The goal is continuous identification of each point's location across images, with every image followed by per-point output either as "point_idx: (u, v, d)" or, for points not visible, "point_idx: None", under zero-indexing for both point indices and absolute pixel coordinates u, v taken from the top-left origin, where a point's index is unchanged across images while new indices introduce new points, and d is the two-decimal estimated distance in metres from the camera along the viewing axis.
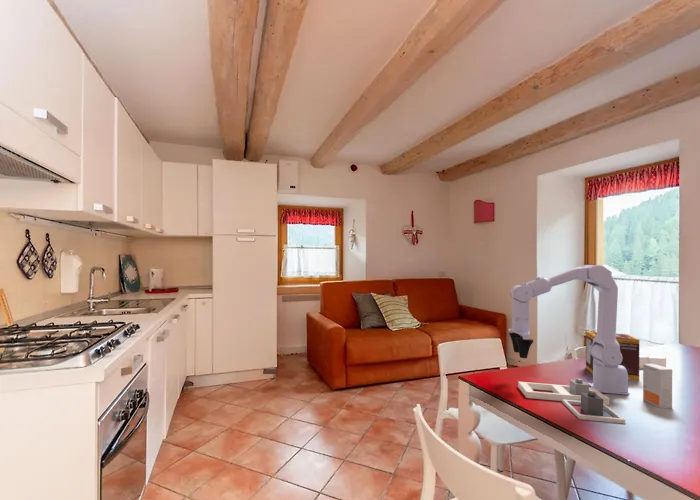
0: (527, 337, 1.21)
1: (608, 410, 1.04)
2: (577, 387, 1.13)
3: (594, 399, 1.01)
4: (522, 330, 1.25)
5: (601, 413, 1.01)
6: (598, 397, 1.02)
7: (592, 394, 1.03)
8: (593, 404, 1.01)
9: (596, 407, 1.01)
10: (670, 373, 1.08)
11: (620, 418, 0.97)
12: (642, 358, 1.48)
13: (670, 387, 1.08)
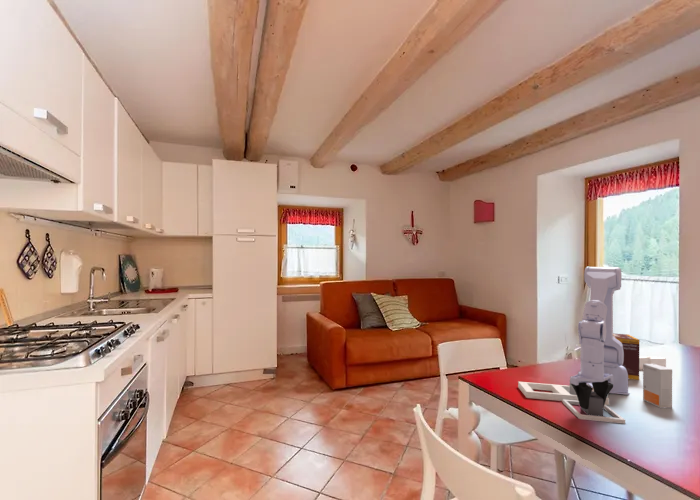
0: (574, 382, 1.01)
1: (608, 410, 1.04)
2: None
3: (594, 399, 1.01)
4: (584, 375, 1.03)
5: (601, 413, 1.01)
6: (598, 397, 1.02)
7: (592, 394, 1.03)
8: (593, 404, 1.01)
9: (596, 407, 1.01)
10: (670, 373, 1.08)
11: (620, 418, 0.97)
12: (643, 359, 1.47)
13: (670, 387, 1.08)
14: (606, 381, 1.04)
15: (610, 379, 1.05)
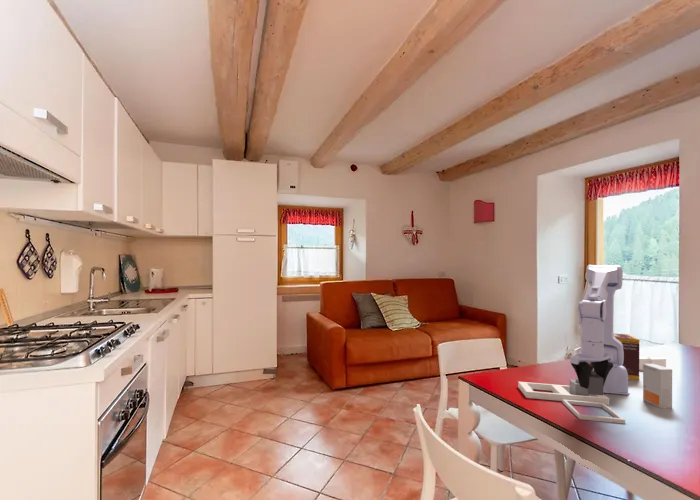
0: (574, 361, 1.01)
1: (608, 410, 1.04)
2: (577, 387, 1.13)
3: (594, 378, 1.02)
4: (584, 354, 1.03)
5: (601, 392, 1.01)
6: (598, 376, 1.02)
7: (592, 374, 1.03)
8: (593, 383, 1.02)
9: (596, 386, 1.01)
10: (670, 373, 1.08)
11: (620, 418, 0.97)
12: (644, 360, 1.46)
13: (670, 387, 1.08)
14: (606, 361, 1.04)
15: (610, 359, 1.05)
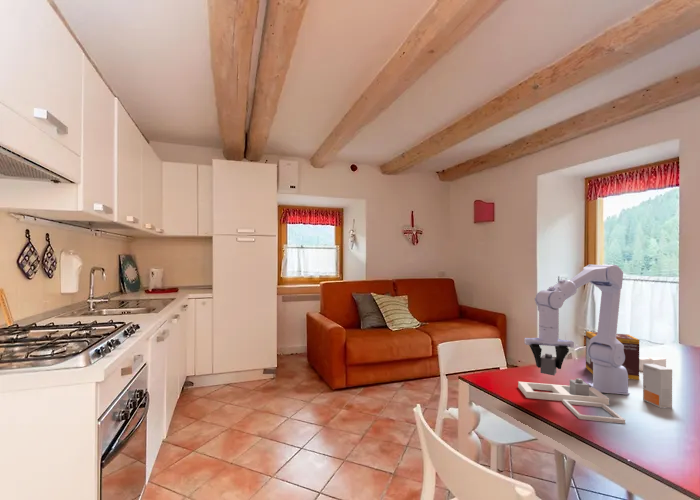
0: (525, 342, 1.17)
1: (608, 410, 1.04)
2: (577, 387, 1.13)
3: (546, 359, 1.14)
4: (539, 338, 1.16)
5: (552, 372, 1.13)
6: (552, 358, 1.14)
7: (547, 356, 1.15)
8: (545, 363, 1.14)
9: (548, 366, 1.14)
10: (670, 373, 1.08)
11: (620, 418, 0.97)
12: (645, 360, 1.45)
13: (670, 387, 1.08)
14: (565, 346, 1.14)
15: (570, 345, 1.14)
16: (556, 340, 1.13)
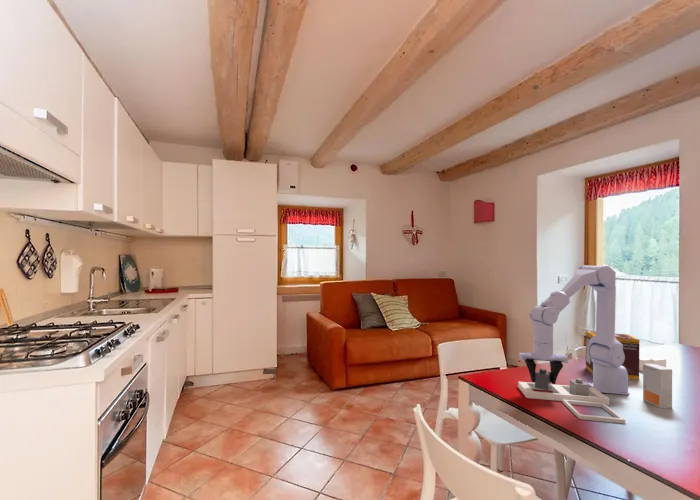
0: (520, 357, 1.18)
1: (608, 410, 1.04)
2: (577, 387, 1.13)
3: (540, 374, 1.16)
4: (533, 353, 1.18)
5: (546, 387, 1.14)
6: (546, 374, 1.15)
7: (541, 371, 1.16)
8: (539, 378, 1.16)
9: (542, 381, 1.15)
10: (670, 373, 1.08)
11: (620, 418, 0.97)
12: (647, 361, 1.44)
13: (670, 387, 1.08)
14: (559, 362, 1.16)
15: (564, 361, 1.15)
16: (550, 355, 1.15)
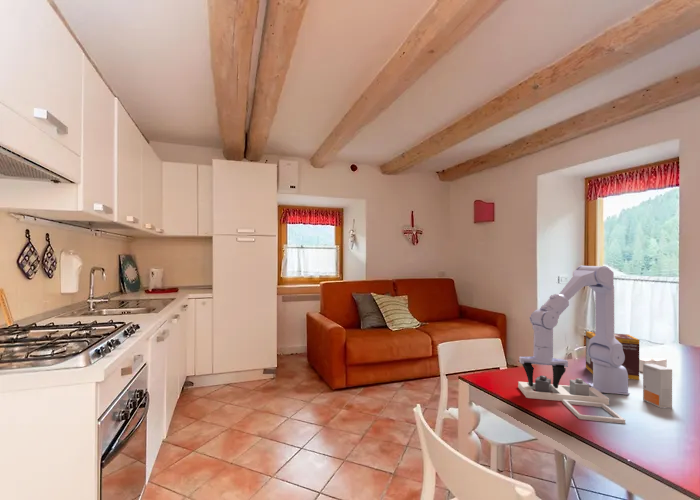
0: (520, 360, 1.18)
1: (608, 410, 1.04)
2: (577, 387, 1.13)
3: (541, 381, 1.15)
4: (533, 357, 1.18)
5: None
6: (547, 381, 1.15)
7: (541, 378, 1.16)
8: (540, 386, 1.16)
9: (542, 389, 1.15)
10: (670, 373, 1.08)
11: (620, 418, 0.97)
12: (648, 362, 1.43)
13: (670, 387, 1.08)
14: (559, 366, 1.15)
15: (564, 364, 1.15)
16: (550, 359, 1.15)
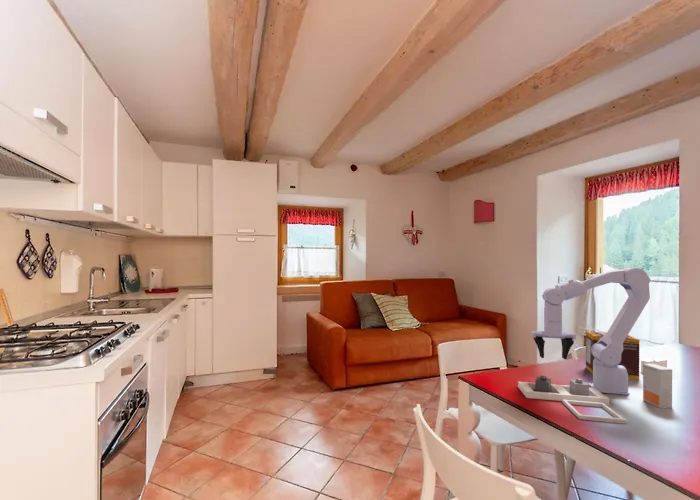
0: (532, 335, 1.29)
1: (608, 410, 1.04)
2: (577, 387, 1.13)
3: (541, 381, 1.15)
4: (544, 331, 1.28)
5: None
6: (547, 381, 1.15)
7: (541, 378, 1.16)
8: (540, 386, 1.16)
9: (542, 389, 1.15)
10: (670, 373, 1.08)
11: (620, 418, 0.97)
12: (650, 363, 1.42)
13: (670, 387, 1.08)
14: (568, 338, 1.26)
15: (572, 337, 1.26)
16: (560, 333, 1.25)
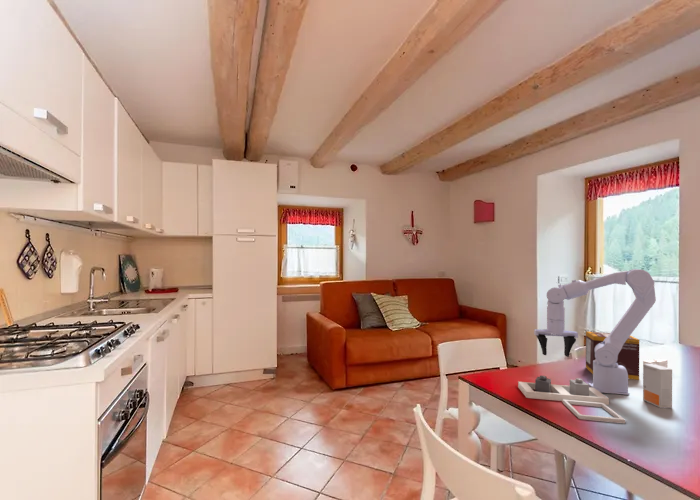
0: (535, 333, 1.32)
1: (608, 410, 1.04)
2: (577, 387, 1.13)
3: (541, 381, 1.15)
4: (547, 329, 1.32)
5: None
6: (547, 381, 1.15)
7: (541, 378, 1.16)
8: (540, 386, 1.16)
9: (542, 389, 1.15)
10: (670, 373, 1.08)
11: (620, 418, 0.97)
12: (652, 363, 1.41)
13: (670, 387, 1.08)
14: (570, 336, 1.29)
15: (574, 335, 1.29)
16: (562, 331, 1.29)
